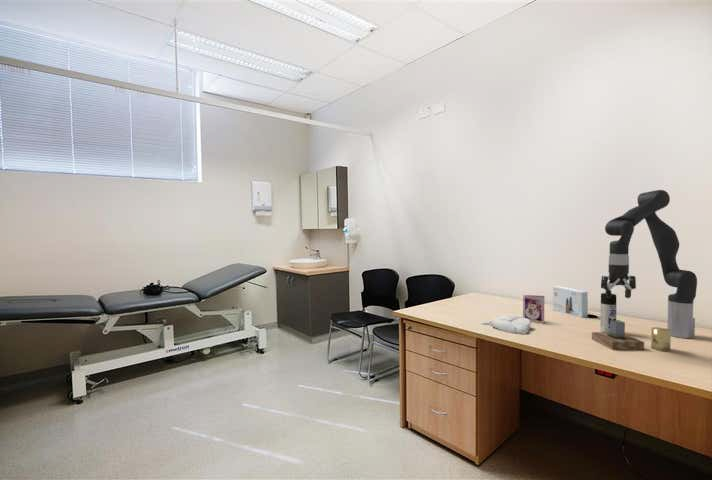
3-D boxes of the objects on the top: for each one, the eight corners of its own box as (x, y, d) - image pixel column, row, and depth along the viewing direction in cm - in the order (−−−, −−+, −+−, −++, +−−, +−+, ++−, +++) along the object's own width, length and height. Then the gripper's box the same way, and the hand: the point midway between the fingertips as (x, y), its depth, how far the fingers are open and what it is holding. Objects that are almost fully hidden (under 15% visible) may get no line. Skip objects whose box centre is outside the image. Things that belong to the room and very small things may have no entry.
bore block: (621, 339, 167) (621, 332, 167) (644, 349, 153) (644, 342, 153) (591, 339, 167) (591, 332, 167) (612, 349, 153) (612, 341, 153)
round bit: (661, 346, 157) (662, 327, 156) (674, 351, 150) (675, 331, 150) (647, 346, 157) (647, 327, 157) (659, 351, 150) (659, 331, 150)
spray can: (609, 334, 175) (610, 295, 174) (596, 330, 181) (597, 293, 180) (619, 333, 176) (620, 294, 176) (606, 329, 183) (607, 292, 182)
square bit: (617, 342, 162) (618, 320, 162) (624, 345, 158) (624, 322, 158) (609, 342, 162) (609, 320, 162) (615, 345, 158) (616, 322, 158)
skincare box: (551, 309, 226) (552, 286, 225) (558, 309, 227) (558, 285, 227) (581, 318, 206) (581, 291, 205) (588, 317, 207) (588, 291, 207)
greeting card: (522, 320, 202) (522, 295, 201) (527, 318, 206) (527, 293, 206) (543, 324, 193) (543, 298, 192) (548, 321, 198) (548, 296, 197)
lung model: (526, 335, 174) (477, 331, 189) (532, 328, 188) (486, 324, 203) (525, 322, 174) (476, 319, 189) (531, 316, 188) (485, 313, 203)
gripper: (628, 262, 162) (627, 296, 163) (597, 262, 163) (597, 296, 163) (640, 264, 155) (640, 299, 155) (608, 264, 155) (608, 299, 156)
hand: (618, 298), depth 159 cm, fingers open, 8 cm apart
